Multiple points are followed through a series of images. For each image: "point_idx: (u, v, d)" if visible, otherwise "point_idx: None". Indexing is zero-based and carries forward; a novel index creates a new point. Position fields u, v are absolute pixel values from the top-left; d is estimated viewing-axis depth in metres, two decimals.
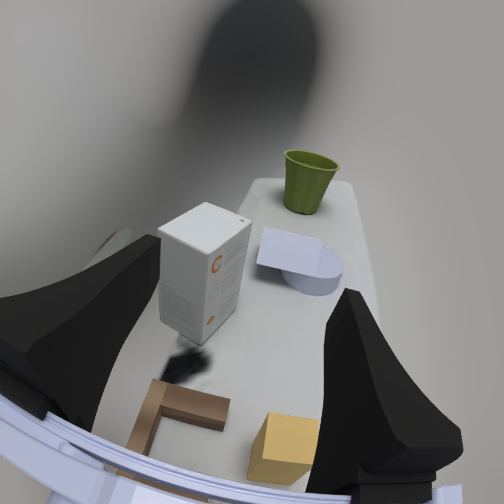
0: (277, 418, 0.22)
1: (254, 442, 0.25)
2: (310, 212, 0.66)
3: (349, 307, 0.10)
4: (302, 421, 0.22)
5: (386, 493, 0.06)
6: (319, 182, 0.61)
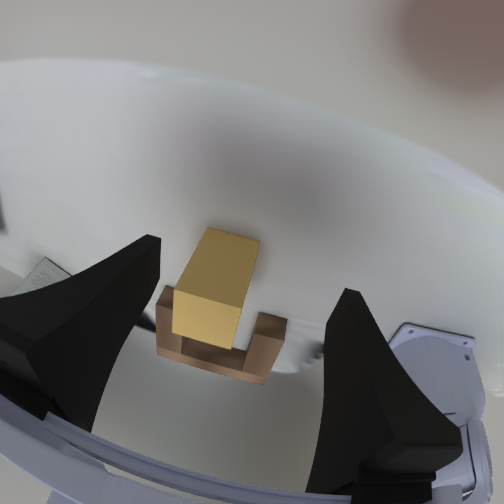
0: (178, 327, 0.20)
1: None
2: None
3: (349, 307, 0.10)
4: (178, 306, 0.19)
5: (386, 493, 0.06)
6: None
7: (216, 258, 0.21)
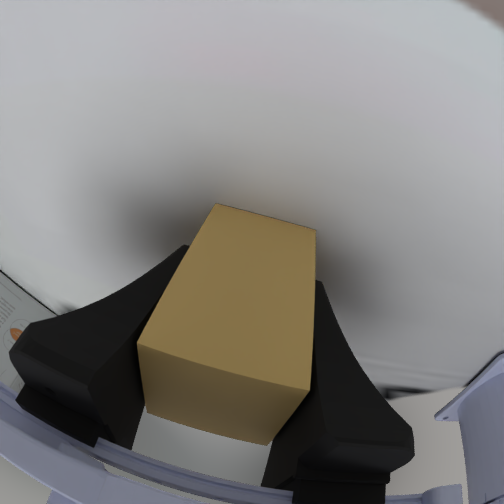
0: (158, 408, 0.09)
1: None
2: None
3: None
4: (153, 376, 0.07)
5: (330, 492, 0.06)
6: None
7: (237, 262, 0.10)
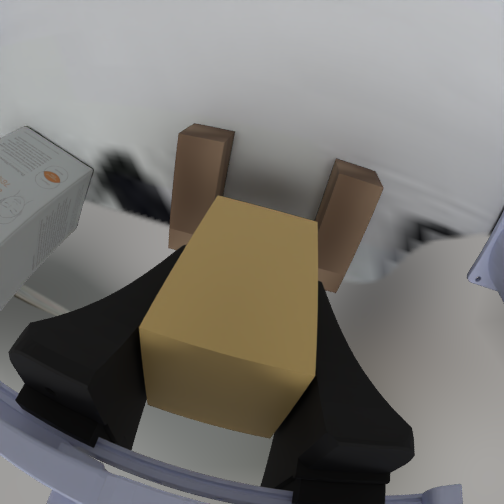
0: (159, 399, 0.09)
1: None
2: None
3: None
4: (155, 364, 0.07)
5: (330, 492, 0.06)
6: None
7: (239, 251, 0.10)
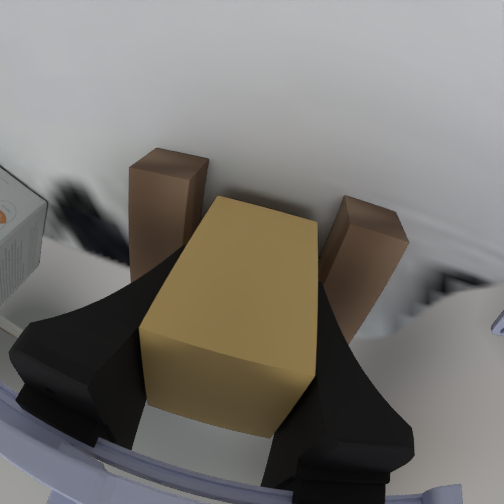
0: (159, 399, 0.09)
1: None
2: None
3: None
4: (154, 364, 0.07)
5: (330, 492, 0.06)
6: None
7: (239, 251, 0.10)
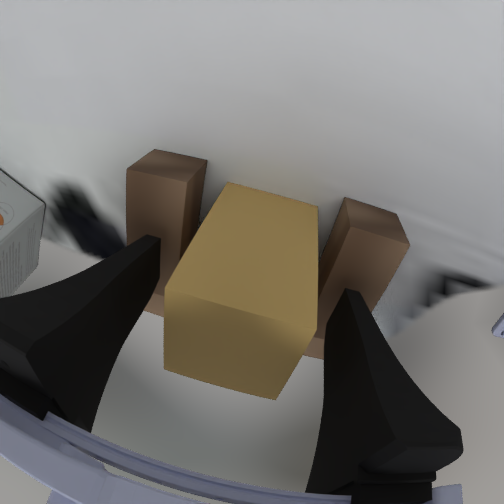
0: (175, 362, 0.10)
1: None
2: None
3: (349, 307, 0.10)
4: (175, 323, 0.09)
5: (386, 493, 0.06)
6: None
7: (249, 228, 0.11)
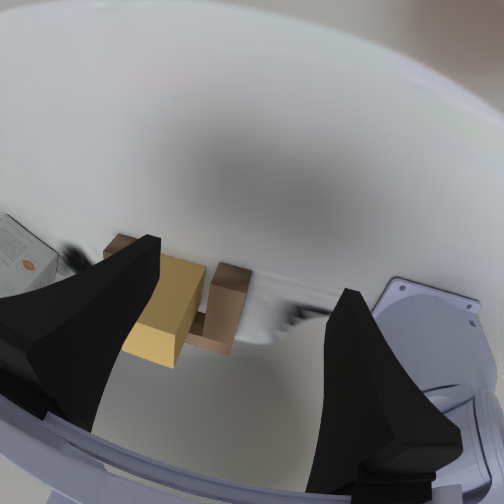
0: (126, 346, 0.21)
1: None
2: None
3: (349, 307, 0.10)
4: None
5: (386, 493, 0.05)
6: None
7: (160, 284, 0.22)
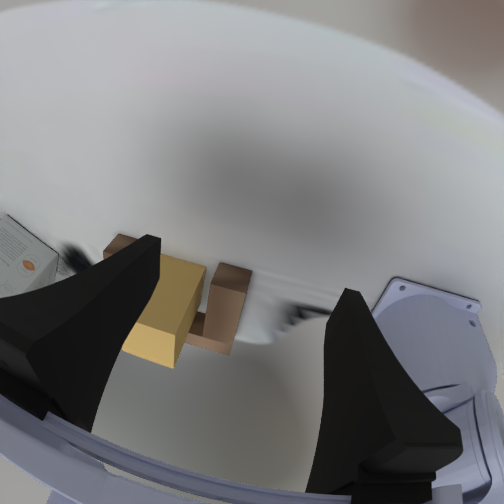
0: (126, 346, 0.21)
1: None
2: None
3: (349, 307, 0.10)
4: None
5: (386, 493, 0.05)
6: None
7: (160, 284, 0.22)
